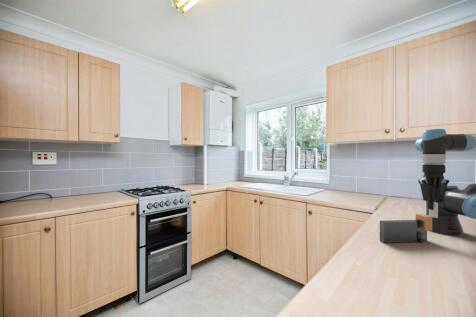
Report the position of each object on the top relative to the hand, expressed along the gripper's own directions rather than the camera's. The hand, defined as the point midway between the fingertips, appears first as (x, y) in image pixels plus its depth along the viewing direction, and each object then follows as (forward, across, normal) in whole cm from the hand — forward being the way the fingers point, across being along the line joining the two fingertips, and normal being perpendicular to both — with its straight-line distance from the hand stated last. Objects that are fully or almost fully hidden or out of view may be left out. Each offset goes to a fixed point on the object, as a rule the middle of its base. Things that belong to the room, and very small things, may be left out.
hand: (433, 216), depth 93 cm
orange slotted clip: (+5, +5, 0) cm, 7 cm away
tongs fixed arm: (+11, +13, 0) cm, 17 cm away
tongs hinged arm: (+10, +17, +1) cm, 20 cm away
